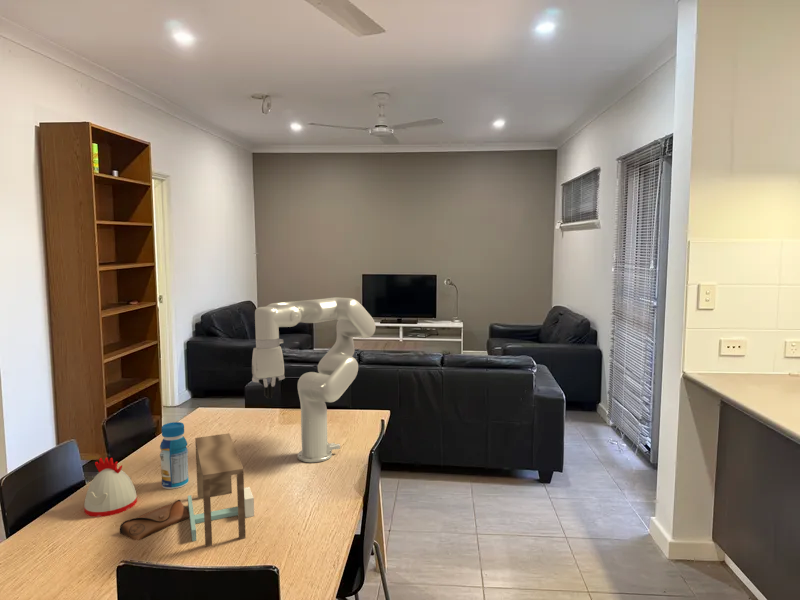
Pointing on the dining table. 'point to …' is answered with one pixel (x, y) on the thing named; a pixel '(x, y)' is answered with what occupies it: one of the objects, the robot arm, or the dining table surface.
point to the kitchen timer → (109, 491)
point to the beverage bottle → (174, 456)
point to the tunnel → (218, 477)
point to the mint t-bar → (221, 511)
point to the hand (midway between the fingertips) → (269, 397)
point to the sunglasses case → (154, 521)
